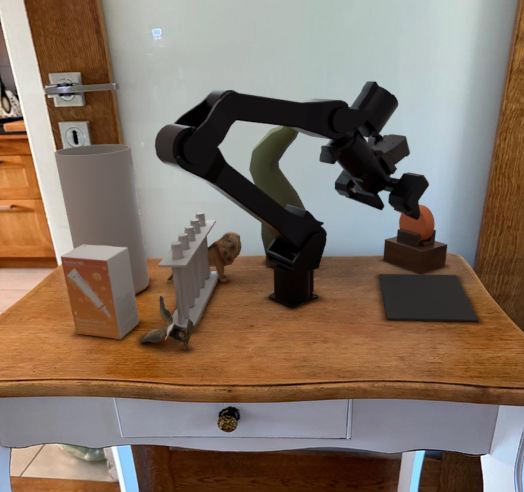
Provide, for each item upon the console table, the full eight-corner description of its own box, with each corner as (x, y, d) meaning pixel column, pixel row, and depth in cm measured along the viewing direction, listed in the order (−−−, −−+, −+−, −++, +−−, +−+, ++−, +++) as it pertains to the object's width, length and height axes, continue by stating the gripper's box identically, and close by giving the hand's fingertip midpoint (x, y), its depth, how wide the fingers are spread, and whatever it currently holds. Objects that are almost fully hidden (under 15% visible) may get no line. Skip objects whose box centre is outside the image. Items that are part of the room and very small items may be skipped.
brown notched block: (419, 274, 106) (423, 238, 103) (383, 260, 113) (385, 227, 110) (444, 266, 109) (449, 232, 106) (407, 253, 117) (410, 221, 113)
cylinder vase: (151, 295, 101) (131, 152, 89) (81, 304, 98) (50, 157, 87) (148, 273, 112) (129, 142, 100) (84, 280, 109) (57, 147, 98)
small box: (75, 334, 88) (58, 256, 81) (97, 318, 93) (83, 243, 87) (120, 340, 85) (106, 259, 79) (140, 323, 91) (128, 246, 84)
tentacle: (307, 271, 109) (307, 106, 95) (247, 268, 112) (239, 107, 98) (315, 256, 117) (316, 102, 103) (259, 254, 120) (253, 103, 106)
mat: (478, 322, 86) (478, 319, 86) (386, 320, 88) (386, 317, 88) (455, 276, 104) (455, 274, 104) (379, 275, 106) (379, 273, 105)
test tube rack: (193, 331, 87) (184, 250, 81) (166, 331, 88) (155, 250, 81) (220, 275, 109) (215, 207, 103) (198, 274, 109) (192, 208, 103)
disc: (424, 246, 106) (427, 209, 103) (398, 239, 111) (399, 204, 108) (433, 243, 107) (435, 207, 104) (406, 237, 112) (408, 202, 109)
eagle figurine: (211, 329, 85) (167, 307, 89) (197, 304, 79) (150, 282, 82) (183, 368, 83) (139, 345, 86) (166, 346, 76) (119, 322, 80)
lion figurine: (241, 271, 110) (239, 227, 106) (244, 281, 106) (242, 235, 101) (167, 278, 109) (162, 233, 104) (167, 288, 104) (161, 241, 100)
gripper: (427, 123, 86) (464, 185, 97) (348, 116, 100) (388, 170, 111) (386, 182, 86) (428, 237, 97) (313, 166, 100) (357, 216, 111)
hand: (399, 212), depth 104 cm, fingers open, 9 cm apart
